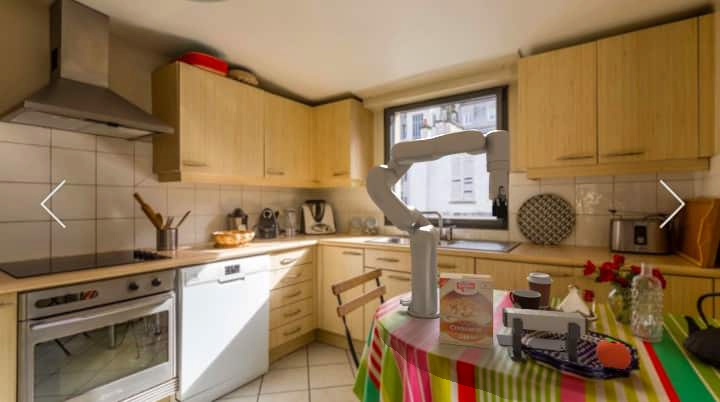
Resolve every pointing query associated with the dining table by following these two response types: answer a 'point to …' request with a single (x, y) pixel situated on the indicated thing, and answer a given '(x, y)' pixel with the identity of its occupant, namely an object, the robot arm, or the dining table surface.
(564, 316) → the steel rail
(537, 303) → the coffee mug
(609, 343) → the tomato
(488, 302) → the coffeecake box
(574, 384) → the dining table surface
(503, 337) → the flat grey plate
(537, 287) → the coffee cup
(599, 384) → the dining table surface
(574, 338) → the right post
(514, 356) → the left post
